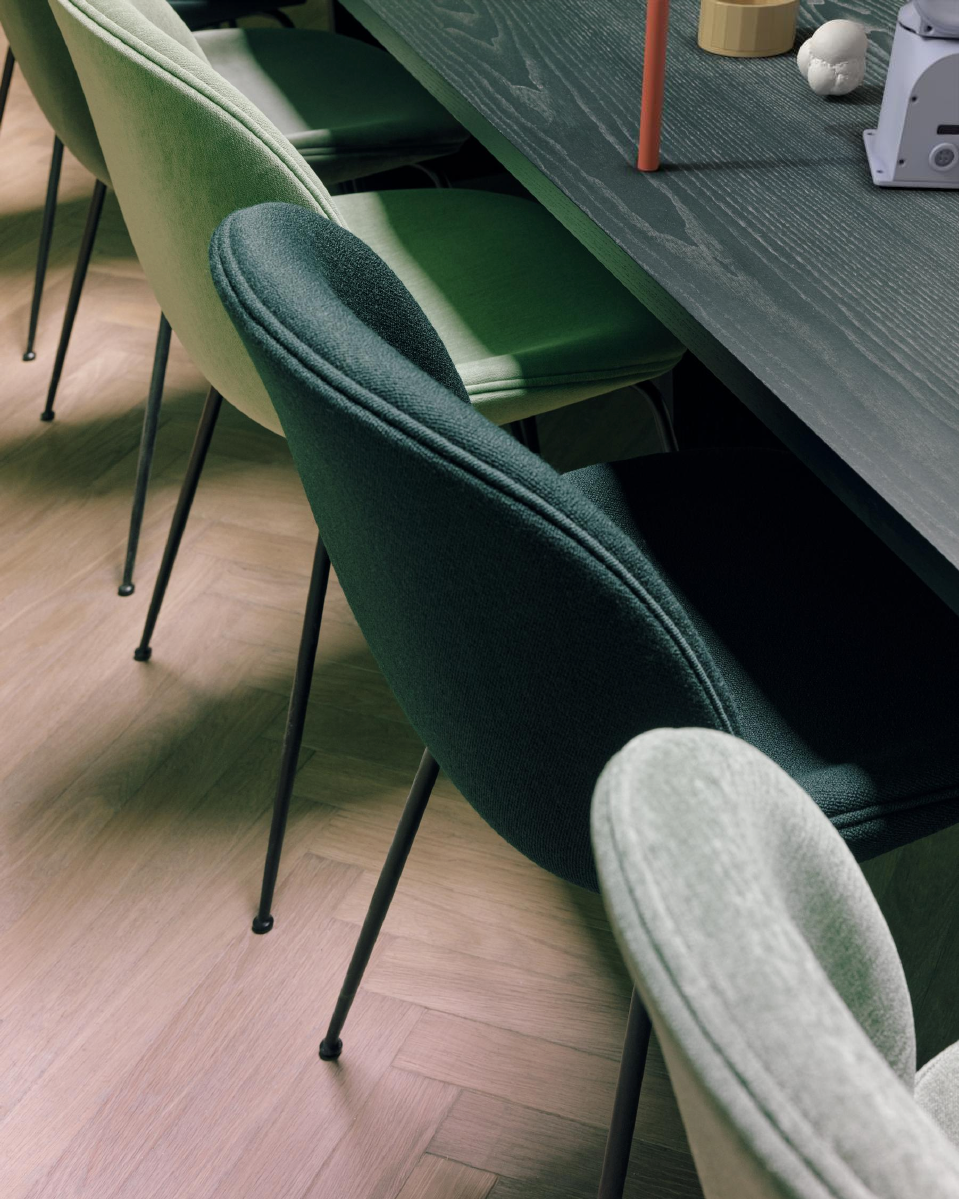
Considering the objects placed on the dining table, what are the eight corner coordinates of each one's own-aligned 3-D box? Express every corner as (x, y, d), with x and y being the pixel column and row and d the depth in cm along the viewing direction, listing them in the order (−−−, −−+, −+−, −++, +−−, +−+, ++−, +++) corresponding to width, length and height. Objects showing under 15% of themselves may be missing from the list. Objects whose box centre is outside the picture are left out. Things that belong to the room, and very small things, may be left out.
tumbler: (795, 58, 101) (802, 7, 98) (696, 56, 102) (700, 5, 100) (791, 29, 107) (798, -20, 105) (698, 28, 108) (702, -21, 106)
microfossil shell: (850, 109, 92) (863, 32, 88) (782, 100, 94) (792, 24, 90) (866, 91, 94) (879, 15, 91) (799, 82, 96) (810, 8, 93)
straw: (657, 171, 83) (669, -1, 76) (637, 171, 84) (647, -1, 76) (658, 164, 84) (670, -7, 77) (638, 163, 85) (648, -7, 77)
